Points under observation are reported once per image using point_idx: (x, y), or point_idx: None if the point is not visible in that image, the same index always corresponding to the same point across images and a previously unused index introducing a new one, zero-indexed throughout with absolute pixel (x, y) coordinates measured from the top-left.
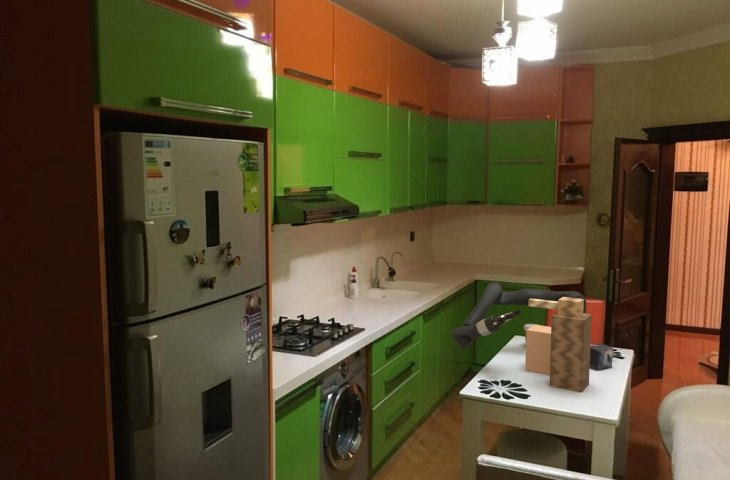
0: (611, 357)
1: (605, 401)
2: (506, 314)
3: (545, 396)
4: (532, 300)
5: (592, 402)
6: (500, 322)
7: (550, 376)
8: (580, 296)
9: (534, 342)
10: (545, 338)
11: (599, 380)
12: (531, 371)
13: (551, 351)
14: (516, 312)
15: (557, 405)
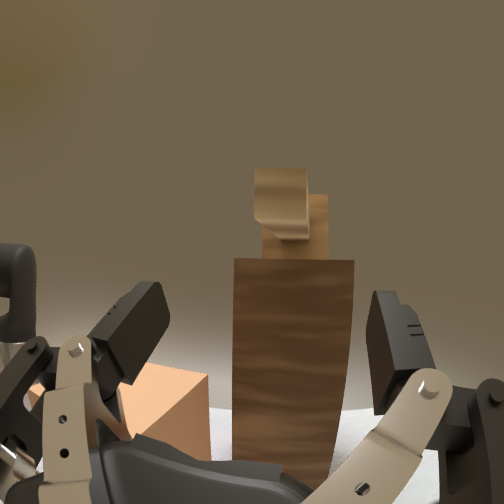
0: None
1: (344, 419)
2: (94, 420)
3: (408, 483)
4: (306, 179)
5: (366, 428)
6: (463, 490)
7: (326, 479)
8: (32, 251)
9: None
10: (190, 415)
11: (216, 428)
12: None
13: (340, 408)
14: (140, 327)
15: (434, 452)
